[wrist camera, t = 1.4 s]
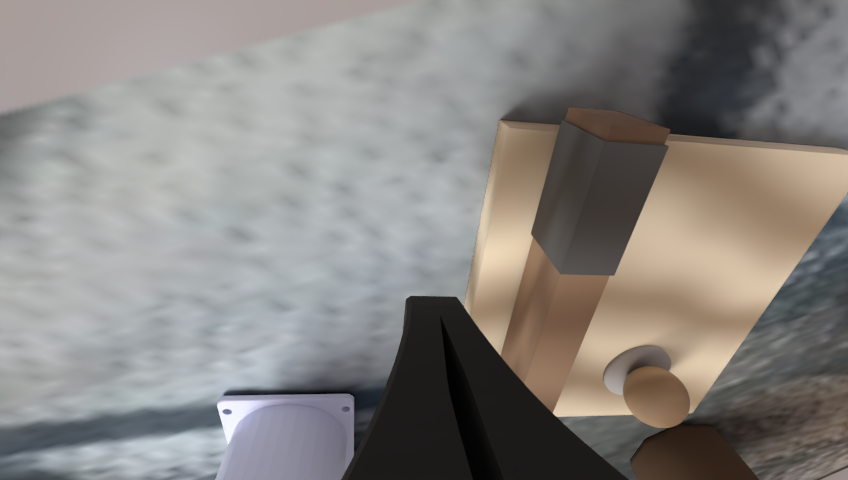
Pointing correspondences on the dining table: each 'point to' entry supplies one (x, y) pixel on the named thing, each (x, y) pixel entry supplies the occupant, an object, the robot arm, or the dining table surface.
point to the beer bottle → (689, 456)
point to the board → (662, 263)
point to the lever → (579, 239)
